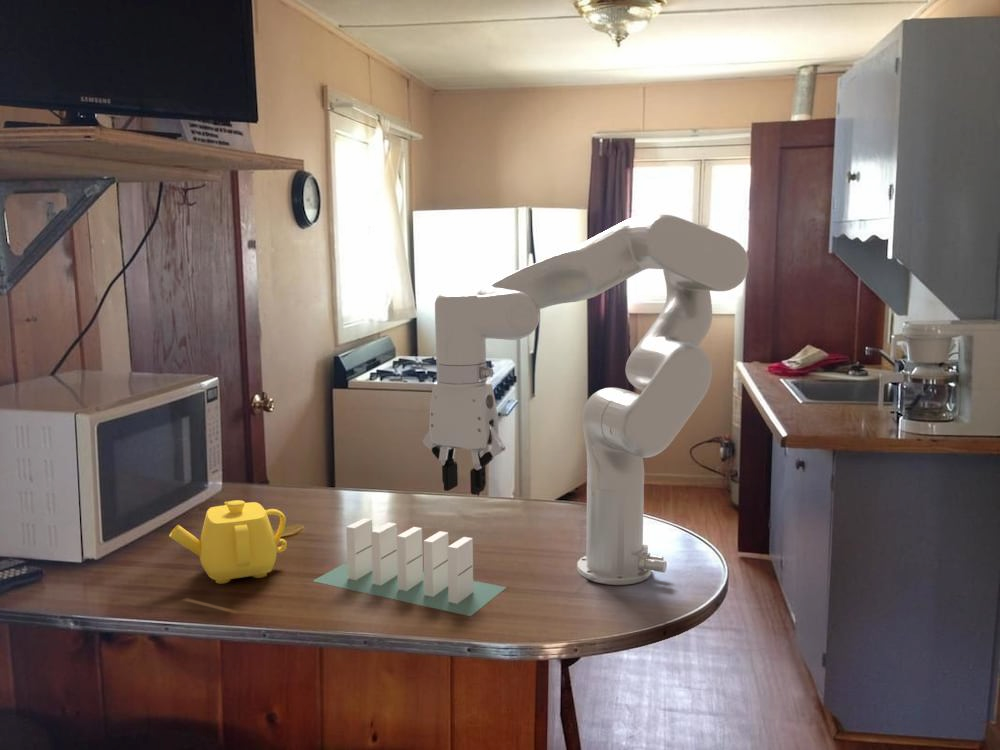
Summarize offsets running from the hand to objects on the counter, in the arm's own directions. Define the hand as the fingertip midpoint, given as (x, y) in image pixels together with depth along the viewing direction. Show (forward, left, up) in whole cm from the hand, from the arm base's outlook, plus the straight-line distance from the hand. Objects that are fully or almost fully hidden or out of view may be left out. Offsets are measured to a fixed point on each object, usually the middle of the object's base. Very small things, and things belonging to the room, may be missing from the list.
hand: (464, 489), depth 133 cm
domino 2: (+15, 0, -17) cm, 23 cm away
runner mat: (+11, 0, -18) cm, 21 cm away
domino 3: (+10, 0, -17) cm, 20 cm away
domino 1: (+20, 0, -17) cm, 27 cm away
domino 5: (0, +1, -17) cm, 17 cm away
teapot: (+41, +9, -18) cm, 45 cm away
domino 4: (+5, 0, -17) cm, 18 cm away
